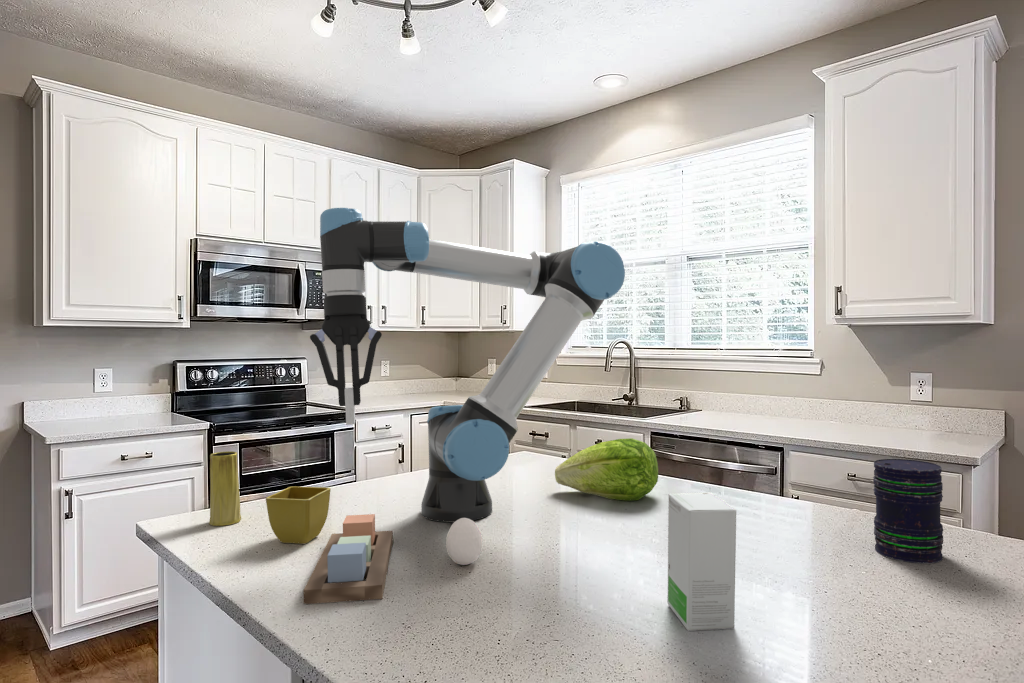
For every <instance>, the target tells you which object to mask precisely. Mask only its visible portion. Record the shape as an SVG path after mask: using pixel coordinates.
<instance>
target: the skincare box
mask: <svg viewBox="0 0 1024 683" xmlns="http://www.w3.org/2000/svg"><path fill="white" fill-rule="evenodd" d="M667 520H668V522H667V523H668V524H667V525H668V526H667V527H668V528H667V532H668V533H667V534H668V535H667V536H668V537H667V597H666V598H667V605H668V606H669V608H670V609H671V611H672V612H673V613H674V614H675V616H677V619H678V620H679V621H680V622H681V623H682V625H683V626H684V627H685V629H686V630H687V631H688V632H697V631H709V630H713V631H715V630H731V629H735V607H736V606H735V605H736V604H735V603H736V601H735V598H736V597H735V596H736V552H737V550H736V548H737V546H736V545H737V509H735V508H733V507H732V506H731V505H730V504H728V503H727V501H726V500H724V499H722V498H720V497H718V496H716V494H714V493H712V492H710V491H709V492H707V491H706V492H684V493H683V492H681V493H680V492H678V493H668V519H667Z"/></svg>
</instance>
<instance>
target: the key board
mask: <svg viewBox="0 0 1024 683" xmlns="http://www.w3.org/2000/svg"><path fill="white" fill-rule="evenodd" d="M340 537H343V532H341V533H340V532H339V533H332V534H331V535H330V537H329V539H328V540H327V542H326V545H325V547H324V548H323V551H322V553H321V554H320V557H319V558H318V561H317V563H316V564H315V567H313V568H314V569H313V571H312V572H311V575H310V576H309V578H308V580H307V582H306V584H305V586H304V588H303V590H302V594H303V605H310V604H311V605H312V604H327V603H329V604H330V603H339V602H355V601H356V602H357V601H372V600H383V599H384V592H385V588H386V582H387V577H388V571H389V566H390V560H391V554H392V550H393V546H394V530H379V531H378V530H377V531H376V530H375V539H374V543H373V545H371V562H366V571H365V575H364V578H363V580H362V581H347V582H331V583H328V557H327V555H328V553H329V551H330V549H331V547H332V545H333V544H337V543H338V541H339V539H340Z"/></svg>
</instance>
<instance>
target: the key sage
mask: <svg viewBox="0 0 1024 683" xmlns="http://www.w3.org/2000/svg"><path fill="white" fill-rule="evenodd" d="M349 543H366V562H371V535H369V536H351V537H340V539H339V541H338V543H337V544H349Z"/></svg>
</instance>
